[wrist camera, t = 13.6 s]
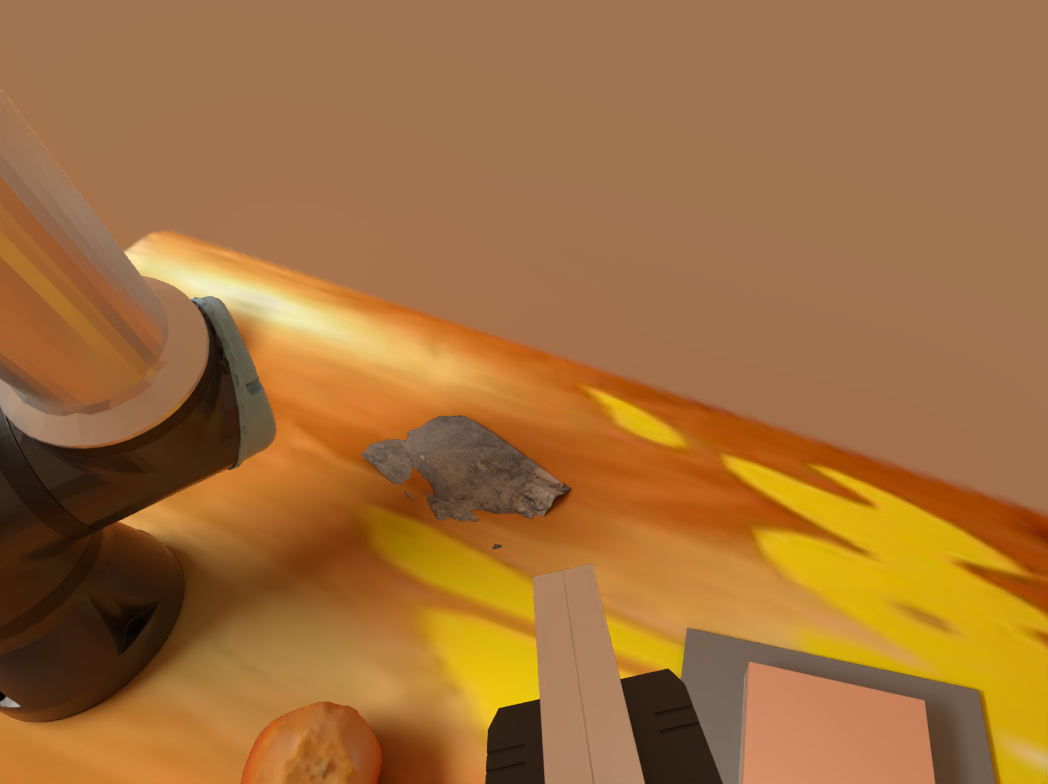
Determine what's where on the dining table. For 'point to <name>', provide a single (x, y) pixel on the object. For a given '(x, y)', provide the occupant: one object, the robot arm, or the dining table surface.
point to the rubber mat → (724, 661)
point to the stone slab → (467, 470)
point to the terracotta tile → (829, 732)
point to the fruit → (315, 749)
